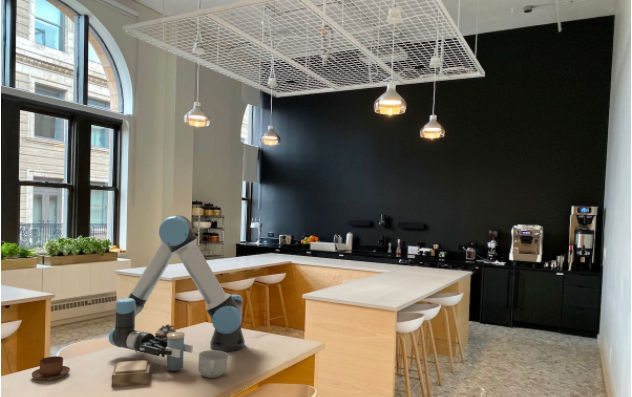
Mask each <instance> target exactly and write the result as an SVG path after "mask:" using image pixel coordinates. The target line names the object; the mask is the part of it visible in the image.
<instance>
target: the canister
mask: <svg viewBox="0 0 632 397" xmlns="http://www.w3.org/2000/svg"><path fill="white" fill-rule="evenodd" d="M184 343H185V332H182V331H176V332H171V333H168V334H167V347H169V348H174V349H178V350H180V357H179V358H177V357H173V356H168V355H166V370H168V371H173V372H174V371H180V370H182V369H184V352H185V351H184Z"/></svg>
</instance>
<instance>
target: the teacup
mask: <svg viewBox="0 0 632 397" xmlns="http://www.w3.org/2000/svg"><path fill="white" fill-rule="evenodd" d="M228 360H229V353H227V351H217V350H214V349H212V350H211V349H210V350H209V349H208V350H204V351H200V352H199V353H198V366H197V368H198V372H199V373H200V374H201V375H202V376H203V377H205V378H210V379H214V378H219V377H221V376H222V375H223V374H225V372H226V370H227V367H228Z"/></svg>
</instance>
